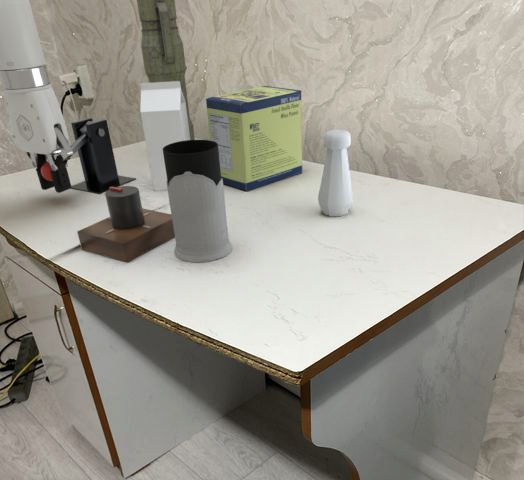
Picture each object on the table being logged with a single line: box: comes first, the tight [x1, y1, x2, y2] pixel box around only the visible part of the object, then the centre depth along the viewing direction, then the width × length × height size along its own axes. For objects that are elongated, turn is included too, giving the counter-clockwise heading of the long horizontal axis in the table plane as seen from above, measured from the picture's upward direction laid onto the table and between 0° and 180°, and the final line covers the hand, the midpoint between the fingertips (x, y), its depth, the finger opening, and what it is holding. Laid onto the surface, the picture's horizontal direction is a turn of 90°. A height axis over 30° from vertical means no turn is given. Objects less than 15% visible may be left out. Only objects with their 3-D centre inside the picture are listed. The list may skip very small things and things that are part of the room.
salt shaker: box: [317, 129, 354, 217], centre depth 87 cm, size 6×6×13 cm
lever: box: [41, 120, 95, 181], centre depth 99 cm, size 15×3×3 cm, turn 146°
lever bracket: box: [70, 117, 137, 195], centre depth 105 cm, size 10×9×13 cm
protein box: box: [205, 85, 303, 192], centre depth 104 cm, size 10×16×16 cm
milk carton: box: [139, 81, 190, 192], centre depth 100 cm, size 7×7×19 cm
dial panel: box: [76, 207, 175, 263], centre depth 84 cm, size 12×10×3 cm
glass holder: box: [163, 139, 233, 263], centre depth 79 cm, size 9×14×15 cm, turn 177°
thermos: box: [136, 0, 196, 140], centre depth 116 cm, size 9×12×35 cm
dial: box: [104, 185, 145, 229], centre depth 82 cm, size 5×5×5 cm
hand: (56, 188), depth 99 cm, fingers closed on lever, 3 cm apart
